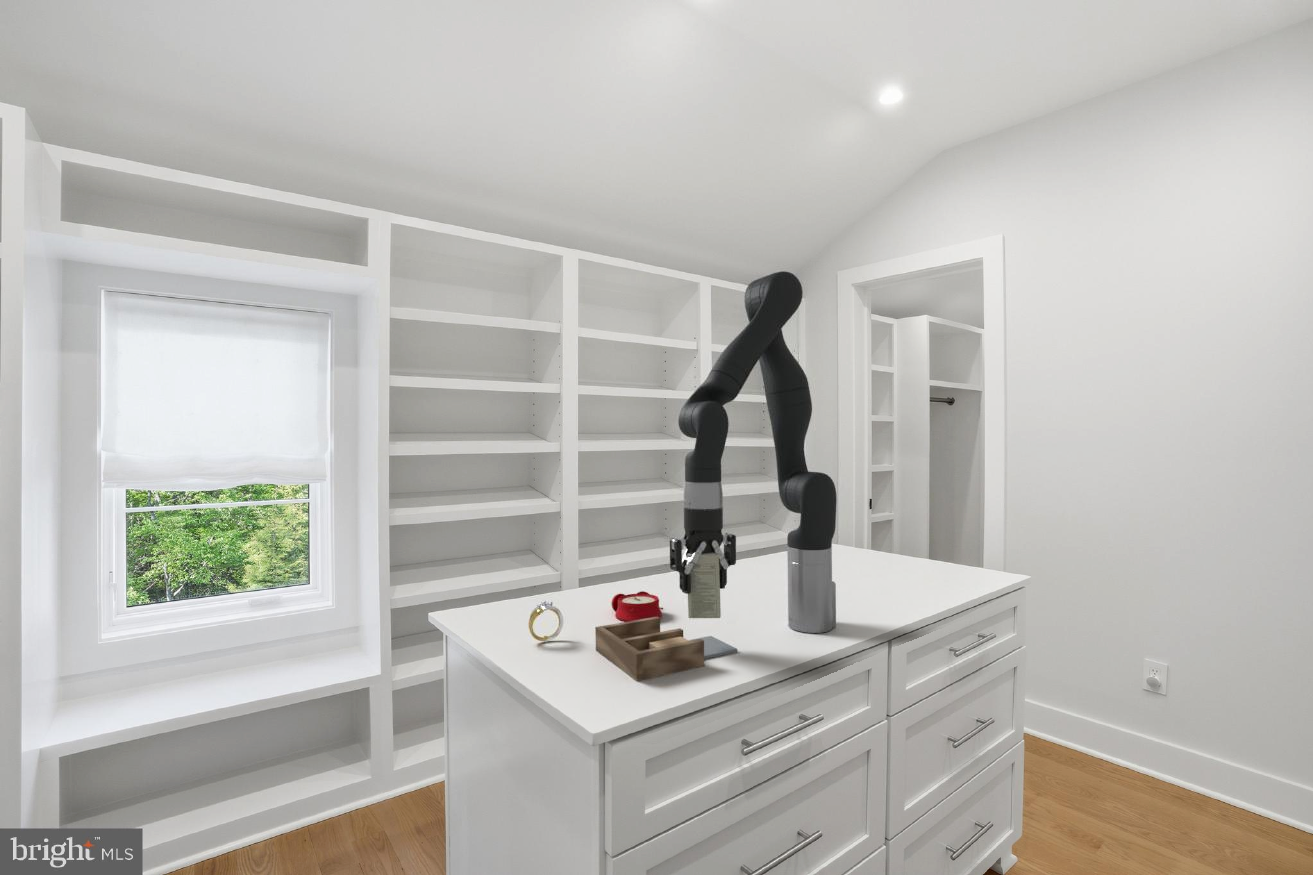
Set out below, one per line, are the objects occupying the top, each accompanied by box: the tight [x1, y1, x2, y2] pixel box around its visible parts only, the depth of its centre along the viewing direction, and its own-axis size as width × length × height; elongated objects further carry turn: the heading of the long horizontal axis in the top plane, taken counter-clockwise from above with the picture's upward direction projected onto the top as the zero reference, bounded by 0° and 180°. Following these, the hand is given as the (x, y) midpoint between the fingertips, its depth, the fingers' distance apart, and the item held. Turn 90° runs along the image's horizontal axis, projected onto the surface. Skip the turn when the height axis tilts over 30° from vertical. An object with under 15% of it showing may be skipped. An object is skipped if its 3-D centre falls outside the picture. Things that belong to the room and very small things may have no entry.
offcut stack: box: [649, 636, 690, 649], centre depth 112 cm, size 8×5×4 cm, turn 118°
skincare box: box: [686, 552, 722, 619], centre depth 119 cm, size 6×4×12 cm
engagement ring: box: [527, 601, 564, 643], centre depth 124 cm, size 7×3×8 cm, turn 110°
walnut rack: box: [595, 617, 705, 682], centre depth 114 cm, size 14×17×4 cm
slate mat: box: [688, 635, 738, 660], centre depth 119 cm, size 9×9×1 cm
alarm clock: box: [611, 590, 664, 622], centre depth 143 cm, size 11×6×15 cm
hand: (703, 590), depth 119 cm, fingers closed on skincare box, 7 cm apart
